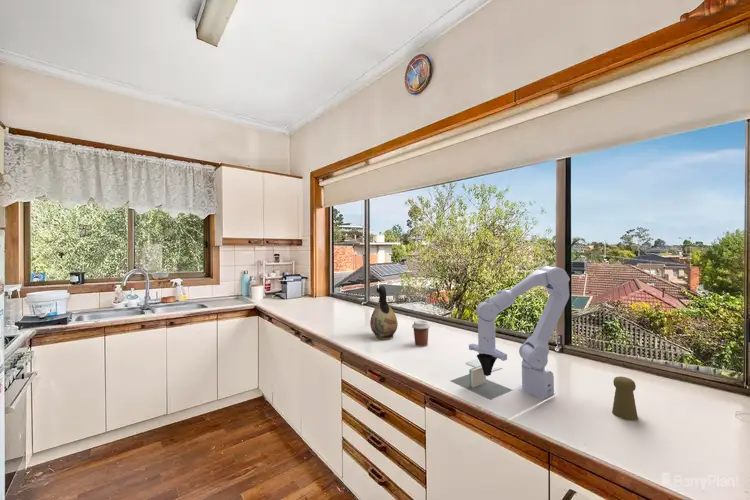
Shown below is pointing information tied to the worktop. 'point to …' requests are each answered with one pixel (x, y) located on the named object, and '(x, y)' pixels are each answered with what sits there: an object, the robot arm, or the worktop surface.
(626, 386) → the olive green pepper mill
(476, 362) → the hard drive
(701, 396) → the worktop surface
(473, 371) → the tile
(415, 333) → the coffee cup
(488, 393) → the mat
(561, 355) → the worktop surface
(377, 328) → the ceramic jug
